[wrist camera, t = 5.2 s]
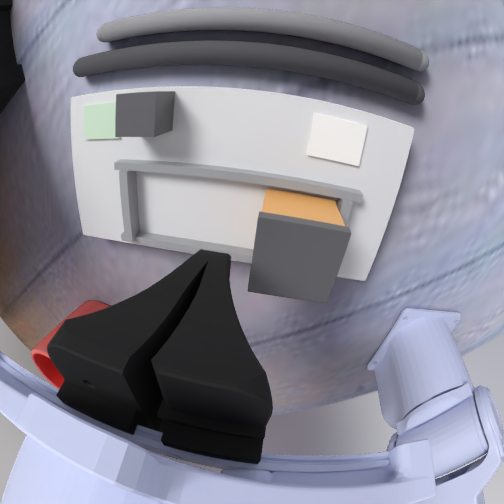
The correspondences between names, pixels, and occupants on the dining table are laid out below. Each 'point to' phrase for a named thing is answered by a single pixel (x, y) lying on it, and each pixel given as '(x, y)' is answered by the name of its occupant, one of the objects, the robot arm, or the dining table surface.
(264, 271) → the lever
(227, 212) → the white base panel
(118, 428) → the robot arm
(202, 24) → the cord
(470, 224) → the dining table surface
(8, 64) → the uninterruptible power supply
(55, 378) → the flower pot
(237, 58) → the cord
